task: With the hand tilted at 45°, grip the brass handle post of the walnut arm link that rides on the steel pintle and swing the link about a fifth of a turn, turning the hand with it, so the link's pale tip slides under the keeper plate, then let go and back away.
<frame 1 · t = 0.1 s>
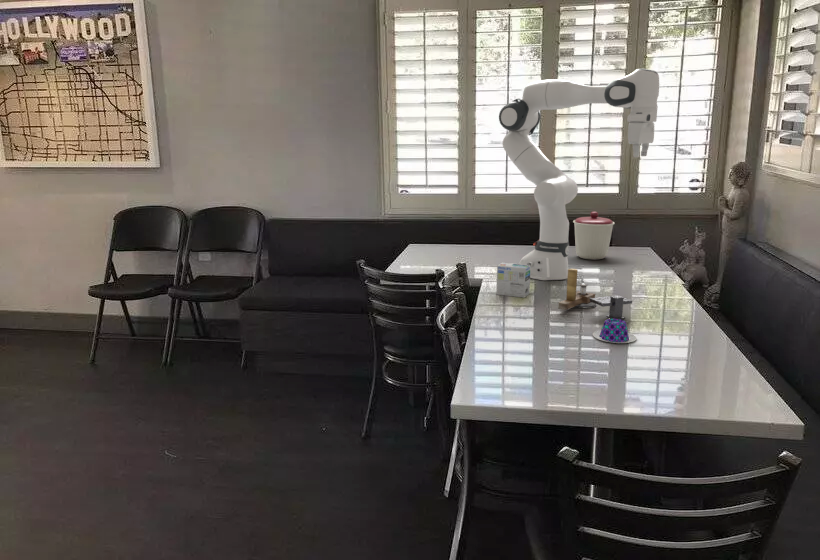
hand: (640, 156, 235), 48 cm above the table, tool pointing down, fingers open, 8 cm apart
light bulb box: (512, 294, 235), on the table
keeper: (611, 306, 207), on the table
pintle: (582, 304, 222), on the table
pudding: (614, 339, 188), on the table
link: (575, 286, 216), point 8 cm above the table, hinge at 0.0°
canister: (591, 258, 300), on the table
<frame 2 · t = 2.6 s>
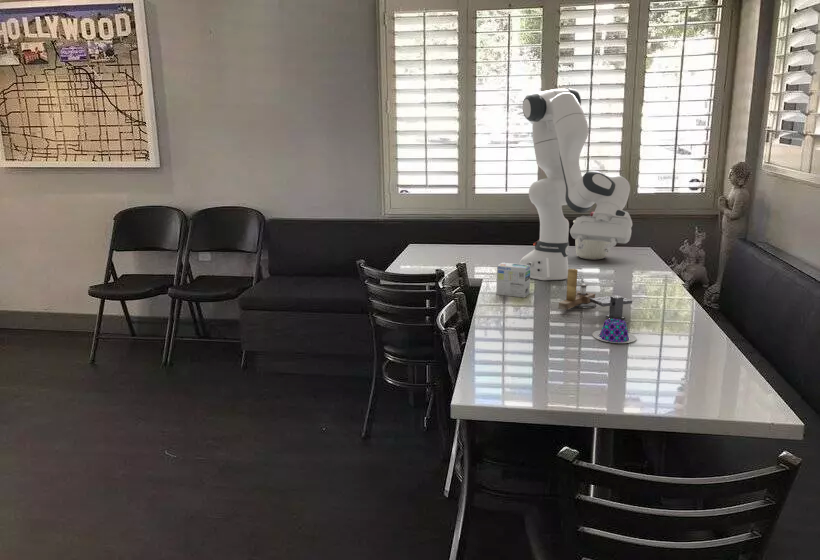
hand: (593, 249, 220), 18 cm above the table, tool tilted 45°, fingers open, 8 cm apart
nothing on the table moved.
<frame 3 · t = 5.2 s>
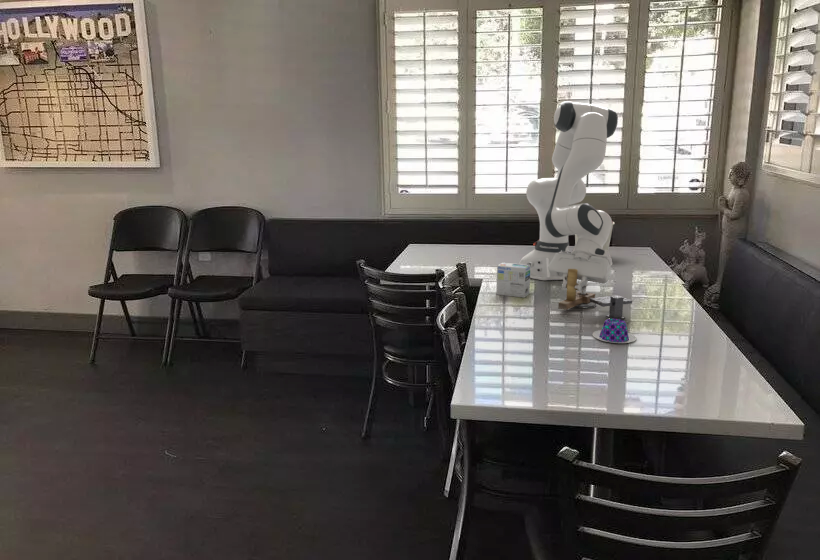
hand: (570, 288, 213), 7 cm above the table, tool tilted 45°, fingers closed on link, 3 cm apart
link: (575, 286, 216), point 7 cm above the table, hinge at 0.0°, touching gripper
everything else where it was.
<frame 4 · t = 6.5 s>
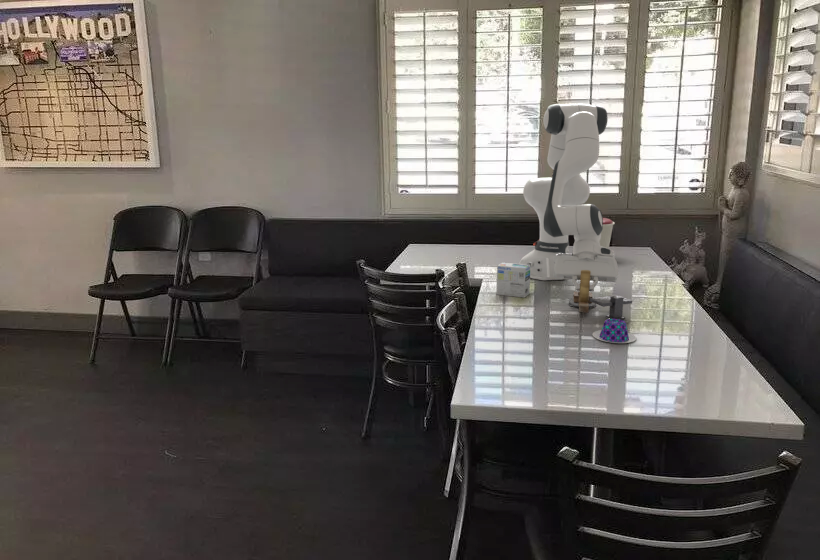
hand: (584, 290, 211), 7 cm above the table, tool tilted 45°, fingers closed on link, 3 cm apart
link: (584, 287, 215), point 7 cm above the table, hinge at 26.4°, touching gripper
everything else where it was.
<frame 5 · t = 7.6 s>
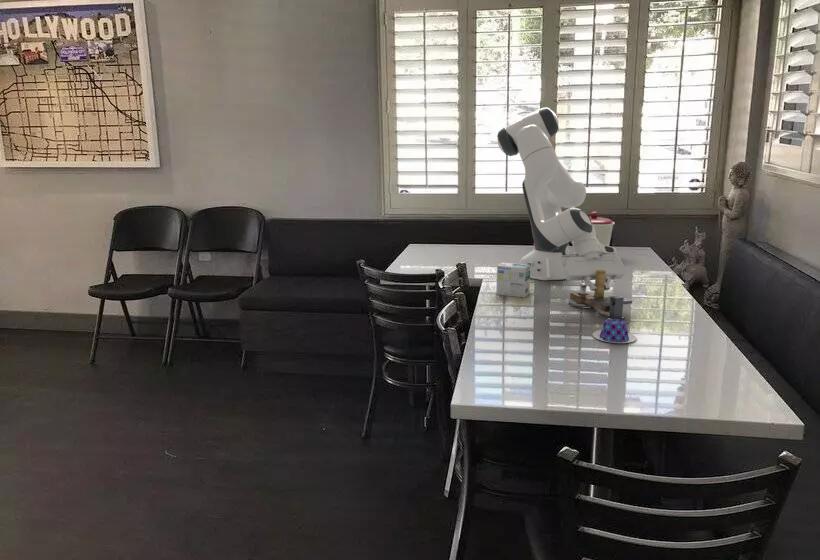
hand: (600, 290, 211), 7 cm above the table, tool tilted 45°, fingers closed on link, 3 cm apart
link: (594, 286, 215), point 8 cm above the table, hinge at 58.0°, touching gripper
everything else where it was.
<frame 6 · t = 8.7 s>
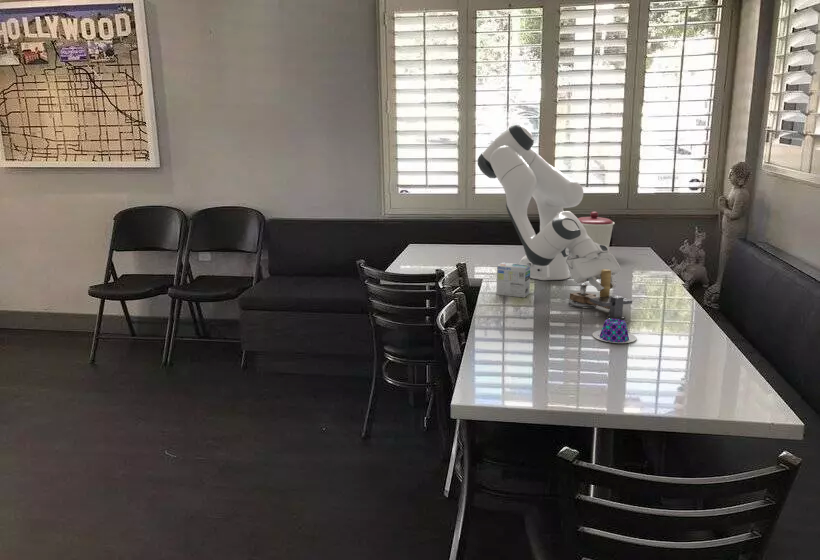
hand: (607, 289, 213), 7 cm above the table, tool tilted 45°, fingers open, 4 cm apart
link: (597, 286, 215), point 7 cm above the table, hinge at 72.8°
everything else where it was.
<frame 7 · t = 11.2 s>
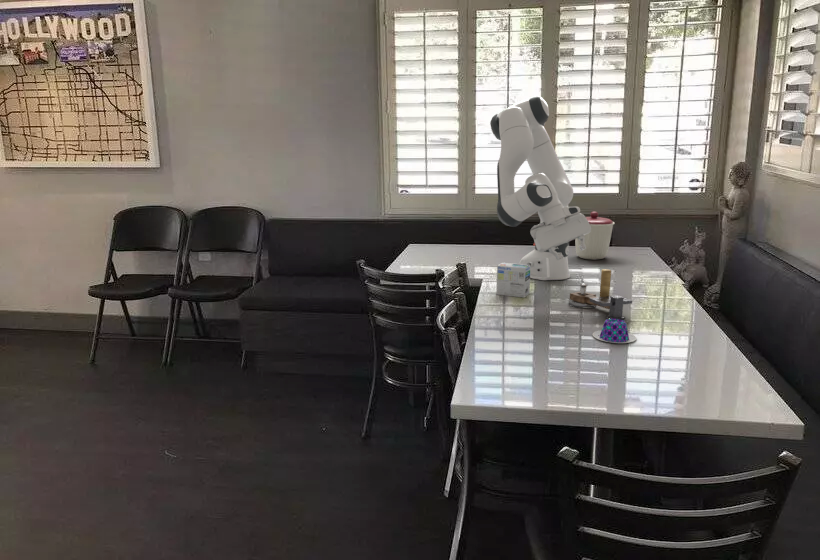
hand: (571, 254, 223), 16 cm above the table, tool tilted 35°, fingers open, 8 cm apart
nothing on the table moved.
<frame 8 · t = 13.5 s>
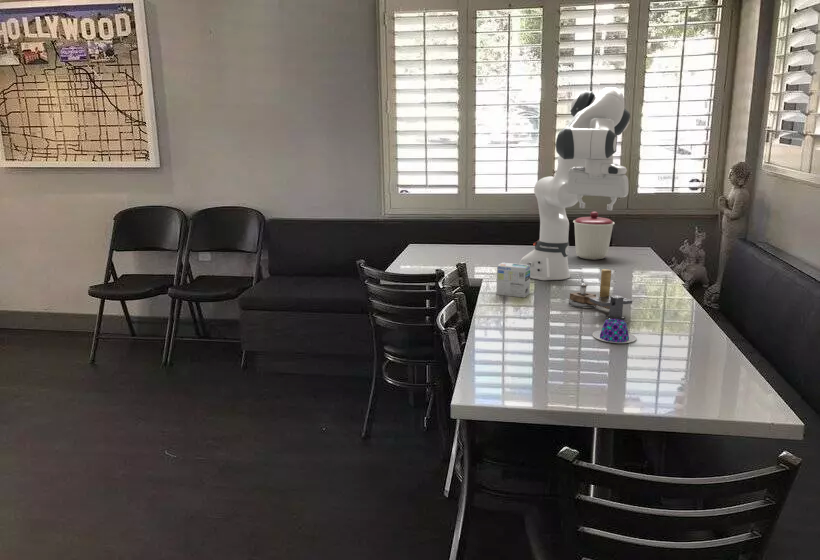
hand: (595, 209, 223), 31 cm above the table, tool pointing down, fingers open, 8 cm apart
at the end: link at +73° (first picture: +0°); the gripper is holding nothing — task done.
